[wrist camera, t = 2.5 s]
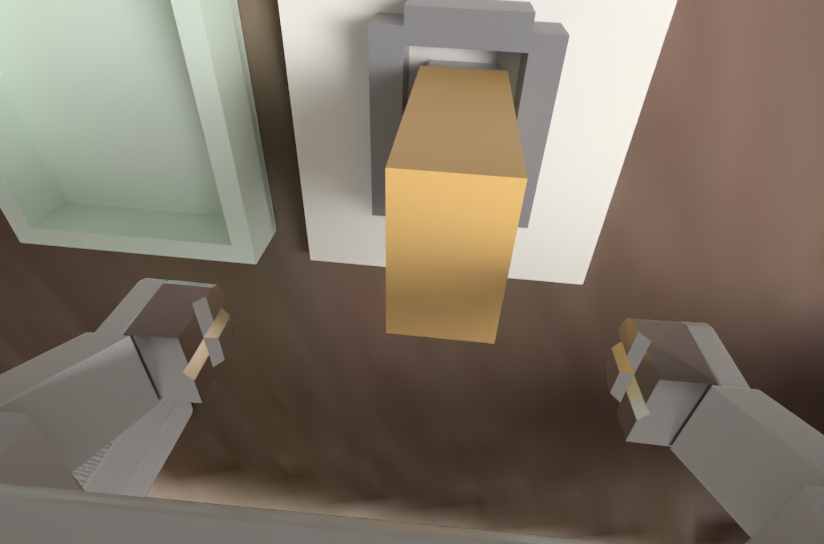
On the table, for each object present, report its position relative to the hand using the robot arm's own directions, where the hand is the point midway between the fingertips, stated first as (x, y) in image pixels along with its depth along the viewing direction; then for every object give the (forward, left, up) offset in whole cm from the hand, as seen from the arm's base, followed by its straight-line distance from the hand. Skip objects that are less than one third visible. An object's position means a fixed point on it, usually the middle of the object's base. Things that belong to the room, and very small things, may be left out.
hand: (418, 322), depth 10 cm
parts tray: (+14, 0, -13) cm, 20 cm away
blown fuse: (-1, 0, -12) cm, 12 cm away
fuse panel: (-1, 0, -13) cm, 13 cm away
